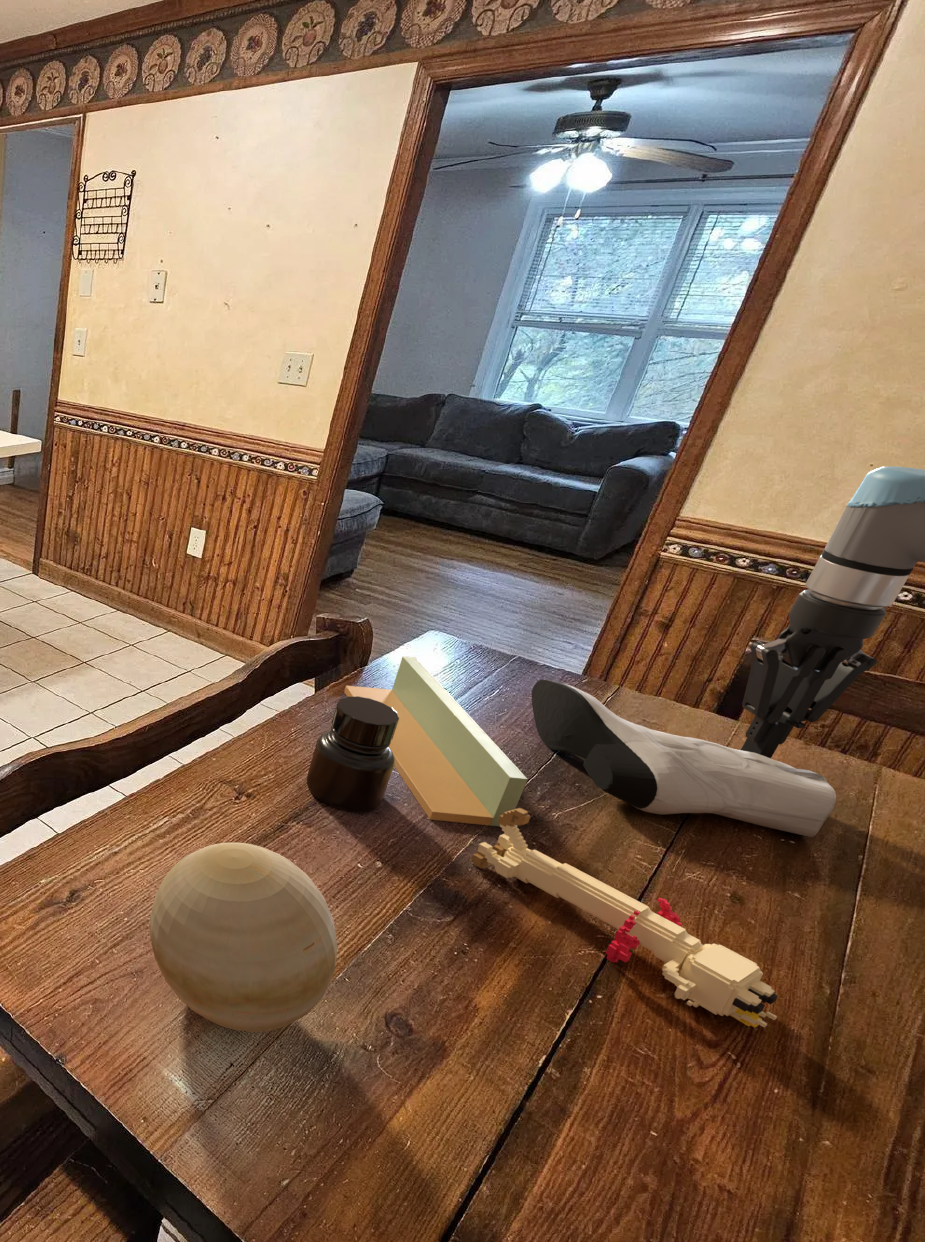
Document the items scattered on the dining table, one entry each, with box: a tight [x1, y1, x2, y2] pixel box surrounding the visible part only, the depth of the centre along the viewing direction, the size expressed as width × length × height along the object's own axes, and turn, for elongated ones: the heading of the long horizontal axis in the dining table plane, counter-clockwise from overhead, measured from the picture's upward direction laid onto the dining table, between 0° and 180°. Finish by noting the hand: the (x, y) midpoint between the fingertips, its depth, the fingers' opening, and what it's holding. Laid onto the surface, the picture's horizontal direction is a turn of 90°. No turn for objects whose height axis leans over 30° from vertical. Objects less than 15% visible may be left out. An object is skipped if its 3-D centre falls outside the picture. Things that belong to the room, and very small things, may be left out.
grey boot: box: [531, 678, 837, 838], centre depth 105 cm, size 10×28×25 cm
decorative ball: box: [149, 841, 339, 1033], centre depth 67 cm, size 15×15×15 cm
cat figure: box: [470, 807, 779, 1029], centre depth 78 cm, size 10×9×25 cm
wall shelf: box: [343, 656, 529, 827], centre depth 108 cm, size 9×32×7 cm, turn 174°
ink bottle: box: [306, 696, 399, 813], centre depth 97 cm, size 10×9×12 cm
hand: (751, 761), depth 105 cm, fingers closed
